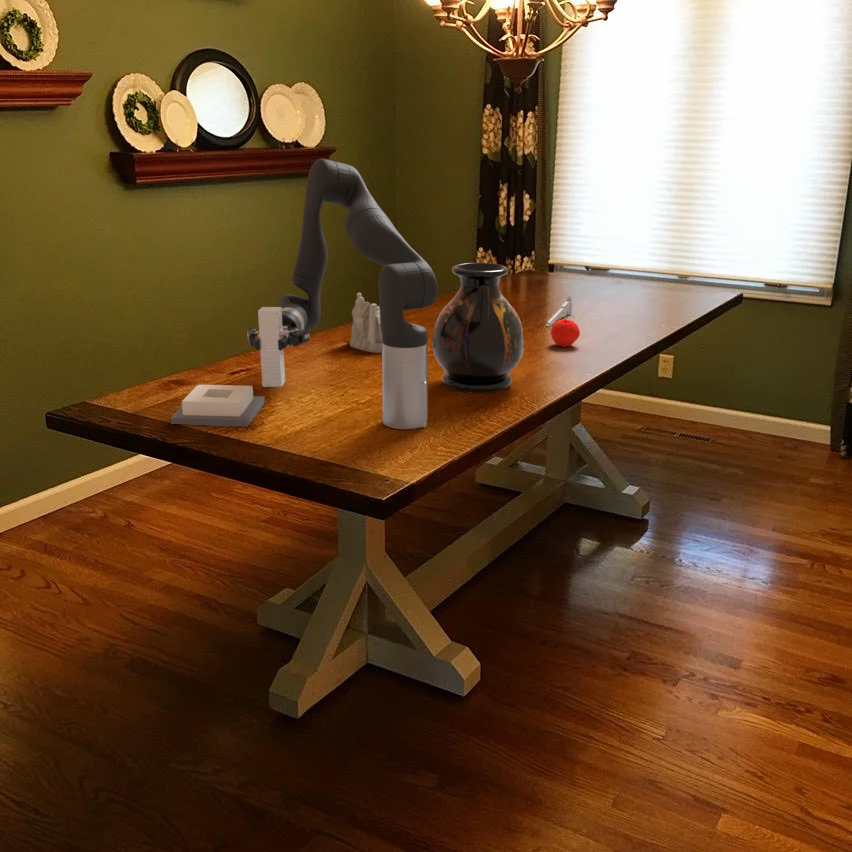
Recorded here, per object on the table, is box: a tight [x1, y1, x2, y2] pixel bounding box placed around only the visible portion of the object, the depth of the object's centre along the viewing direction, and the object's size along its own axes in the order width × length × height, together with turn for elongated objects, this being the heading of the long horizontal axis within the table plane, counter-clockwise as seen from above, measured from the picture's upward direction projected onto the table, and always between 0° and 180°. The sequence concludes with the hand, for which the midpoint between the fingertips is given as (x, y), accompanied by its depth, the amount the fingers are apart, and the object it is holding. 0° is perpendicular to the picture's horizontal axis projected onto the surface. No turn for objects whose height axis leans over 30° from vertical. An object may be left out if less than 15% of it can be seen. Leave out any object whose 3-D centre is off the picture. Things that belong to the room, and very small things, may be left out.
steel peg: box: [257, 306, 286, 388], centre depth 194 cm, size 4×4×16 cm
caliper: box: [545, 295, 573, 327], centre depth 286 cm, size 20×1×6 cm, turn 152°
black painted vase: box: [431, 262, 525, 394], centre depth 217 cm, size 22×22×28 cm
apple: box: [550, 319, 581, 348], centre depth 256 cm, size 8×8×7 cm
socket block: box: [170, 384, 265, 428], centre depth 199 cm, size 16×16×4 cm
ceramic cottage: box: [349, 292, 382, 354], centre depth 255 cm, size 16×16×15 cm
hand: (269, 345), depth 191 cm, fingers closed on steel peg, 4 cm apart
